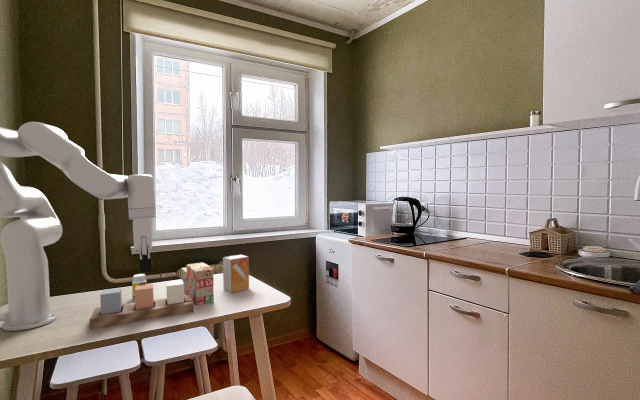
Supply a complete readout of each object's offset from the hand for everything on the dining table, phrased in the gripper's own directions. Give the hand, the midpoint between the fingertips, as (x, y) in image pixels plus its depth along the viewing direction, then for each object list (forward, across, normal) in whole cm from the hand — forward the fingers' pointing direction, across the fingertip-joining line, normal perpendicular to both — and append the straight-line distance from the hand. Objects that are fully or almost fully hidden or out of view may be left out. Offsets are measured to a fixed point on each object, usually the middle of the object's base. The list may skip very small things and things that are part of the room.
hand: (145, 271), depth 108 cm
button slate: (+11, 0, -10) cm, 15 cm away
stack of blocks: (+15, -12, +16) cm, 25 cm away
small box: (+15, -14, +31) cm, 37 cm away
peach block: (+11, 0, -1) cm, 11 cm away
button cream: (+11, 0, +8) cm, 14 cm away
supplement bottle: (+14, -21, -3) cm, 25 cm away
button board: (+14, 0, -1) cm, 14 cm away
